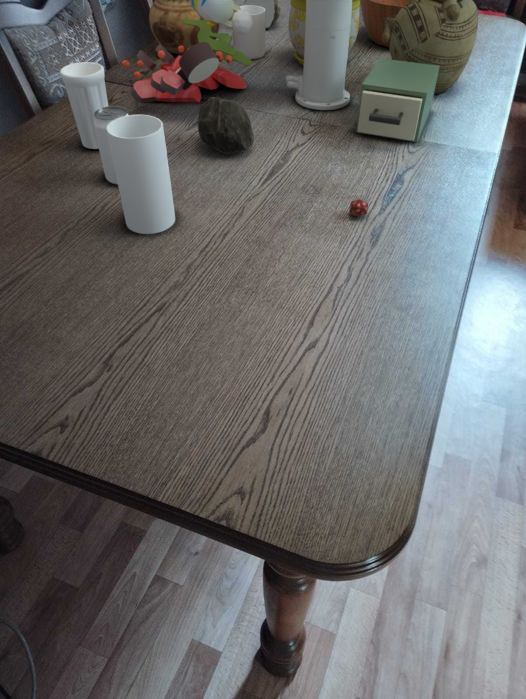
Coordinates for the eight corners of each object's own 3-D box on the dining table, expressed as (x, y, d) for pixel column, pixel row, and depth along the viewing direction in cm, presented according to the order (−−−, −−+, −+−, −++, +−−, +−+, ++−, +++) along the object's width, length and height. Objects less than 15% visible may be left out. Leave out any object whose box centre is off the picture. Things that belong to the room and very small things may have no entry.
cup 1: (70, 149, 110) (50, 74, 100) (92, 132, 116) (75, 59, 105) (105, 155, 108) (88, 79, 98) (126, 138, 114) (112, 64, 103)
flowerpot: (369, 63, 144) (378, -10, 132) (315, 78, 137) (320, 2, 125) (326, 45, 154) (331, -24, 143) (273, 57, 147) (274, -14, 136)
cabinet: (416, 142, 112) (427, 93, 105) (355, 132, 115) (361, 83, 108) (429, 112, 122) (439, 65, 115) (373, 104, 126) (379, 58, 119)
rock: (248, 159, 105) (241, 103, 99) (194, 160, 108) (184, 106, 102) (262, 141, 113) (256, 89, 107) (210, 143, 116) (202, 92, 110)
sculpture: (254, 31, 180) (289, 17, 176) (246, 38, 165) (283, 23, 162) (243, -7, 174) (278, -22, 170) (232, -3, 159) (270, -20, 156)
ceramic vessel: (376, 68, 142) (397, -78, 120) (460, 74, 139) (497, -75, 117) (371, 96, 129) (393, -61, 107) (464, 104, 126) (506, -57, 104)
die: (362, 222, 92) (364, 206, 90) (345, 217, 93) (347, 201, 91) (369, 214, 93) (371, 198, 91) (352, 209, 94) (355, 193, 92)
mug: (267, 45, 154) (267, 1, 146) (264, 60, 146) (264, 14, 138) (236, 45, 155) (235, 1, 147) (232, 59, 146) (230, 14, 138)
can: (133, 187, 100) (121, 121, 91) (100, 183, 101) (85, 118, 92) (146, 170, 104) (135, 106, 96) (113, 167, 105) (100, 103, 96)
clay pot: (212, 53, 141) (177, -35, 129) (156, 74, 150) (118, -6, 138) (240, 31, 153) (209, -52, 141) (186, 51, 162) (154, -25, 151)
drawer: (409, 150, 108) (417, 109, 102) (351, 140, 111) (356, 100, 105) (425, 113, 120) (433, 74, 114) (373, 105, 123) (378, 67, 117)
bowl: (380, 22, 169) (386, -22, 161) (457, 37, 159) (468, -9, 151) (339, 43, 155) (343, -4, 147) (421, 61, 145) (430, 12, 137)
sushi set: (185, 138, 116) (89, 75, 116) (228, 139, 143) (150, 88, 143) (251, -1, 104) (145, -71, 104) (284, 29, 131) (200, -26, 132)
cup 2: (153, 239, 88) (137, 143, 77) (115, 224, 91) (94, 129, 80) (185, 216, 93) (174, 122, 82) (147, 202, 96) (132, 110, 85)
